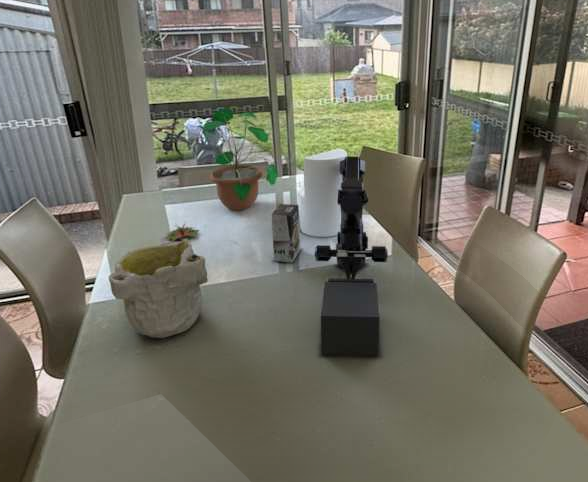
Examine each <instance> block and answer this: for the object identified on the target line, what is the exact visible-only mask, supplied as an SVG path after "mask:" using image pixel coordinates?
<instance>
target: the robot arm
mask: <svg viewBox="0 0 588 482" xmlns="http://www.w3.org/2000/svg"><path fill="white" fill-rule="evenodd" d="M340 175H342V183H341V189H338V200H337V202H338V205H340V210H341V224H340V232H338V235H336V236H337V238H336V239H337V242H336V244H335V249H331V245H321V244H319V245H316V246H315V247H314V258H315V261H316V262H329V261H330V260H331V259H332V258H336V263H337V267H338V268H341V269H342V270H343V271H344V273H345V274H344V275H345V277H346V279H356V276H357V274H358V271H359V270H361V269H362V268H363V267H365V266H366V265H367V263H366V258H367V259H368V258H369V259H370V258H371V260H372V261H373V262H374V263H387V261H388V257H389V253H388V252H389V251H388V247H387V246H386V245H385V246H382V245H380V246H379V245H372V246H371V249H369V247H368V246H369V236H368V235H367V232H366V231H364V224H363V223H364V221H363V211H364V210H363V209H364V206H367V203H369V193H367V190H366V189H364V183H363V182H364V176H365V175H366V160H363V159H361V156H357V155H356V156H353V155H352V156H351V155H350V156H348V155H347V157H345V159H344V160H342V161H340Z"/></svg>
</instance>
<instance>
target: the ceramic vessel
mask: <svg viewBox="0 0 588 482" xmlns="http://www.w3.org/2000/svg"><path fill="white" fill-rule="evenodd" d="M108 281H109V283H110V289H111V293H112V296H113V297H114V298H116V299H117V300H123V305H124V313H125V316H126V317H127V320H128V323H129V325H130V326H131V328H132V329H133V330H134V331H136V332H138V334H141V335H144V336H147V337H149V338H159V339H165V338H168V337H171V336H174V335H177V334H178V335H179V334H181V333H183V332H185V331H187V330H189V329H190V328H191V327H192V326H193V325H194V324H195V322H196V321H197V319H198V317H199V315H200V313H201V311H202V309H203V307H202V304H203V295H202V289H201V285H203V284H205V283H208V281H209V278H208V271H207V268H206V258H205V257H204V256H203V255H198V254H196V253H195V252H194V249H193V246H192V244H191V242H190V241H189V239H185V240H181V241H180V240H179V242H177V241H168V242H162V243H161V244H159V245H151V246H150V245H148V246H144V247H143V246H142V247H139V248H135V249H133V250H130V251H128V252H127V253H125V254H123V255H122V256H121V257H120V259H119V260H118V261H117V262H116V263H115V267H114V272H113V273H110V274H109V276H108Z"/></svg>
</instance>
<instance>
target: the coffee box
mask: <svg viewBox="0 0 588 482" xmlns="http://www.w3.org/2000/svg"><path fill="white" fill-rule="evenodd" d="M270 216H271V229H272V230H271V231H272V232H271V233H272V247H273V249H272V250H273V261H275V262H282V263H283V262H284V263H292V264H293V262H294V261H295V259H296V257H297V256H298V254H299V252H300V251H301V239H300V238H301V237H300V234H301V233H300V220H299V204H288V203H286V204H285V203H280V204H278V206H277V207H276V208H275V210H274V211H272V213H271V215H270Z"/></svg>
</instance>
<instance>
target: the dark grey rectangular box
mask: <svg viewBox="0 0 588 482" xmlns="http://www.w3.org/2000/svg"><path fill="white" fill-rule="evenodd" d="M323 285H324V286H323V293H322V294H323V295H322V303H321V311H320V340H321V341H320V342H321V343H320V345H321V348H320V349H321V356H339V357H340V356H344V357H350V356H351V357H379V340H380V339H379V336H380V310H379V309H380V308H379V295H378V284H377V282H374V283H361V282H328V281H324V284H323Z"/></svg>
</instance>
